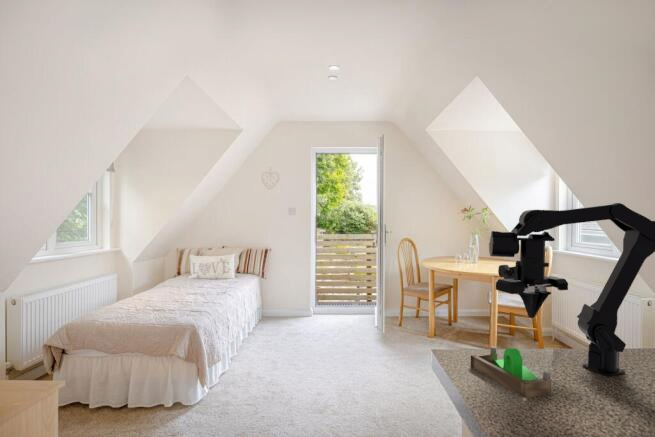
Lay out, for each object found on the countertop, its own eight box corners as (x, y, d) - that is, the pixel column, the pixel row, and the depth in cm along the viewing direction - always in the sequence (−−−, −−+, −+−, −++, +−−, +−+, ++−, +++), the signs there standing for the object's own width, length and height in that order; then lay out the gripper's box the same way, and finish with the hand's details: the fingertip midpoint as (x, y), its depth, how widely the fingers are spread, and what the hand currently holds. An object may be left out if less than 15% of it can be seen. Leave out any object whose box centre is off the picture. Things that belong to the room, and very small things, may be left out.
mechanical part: (540, 389, 87) (541, 354, 87) (512, 388, 87) (513, 353, 87) (517, 368, 99) (518, 336, 99) (493, 367, 99) (494, 336, 99)
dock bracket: (493, 363, 101) (493, 346, 101) (551, 393, 84) (552, 373, 84) (470, 366, 99) (470, 349, 99) (525, 398, 82) (526, 377, 82)
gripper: (534, 253, 111) (533, 307, 112) (481, 255, 105) (480, 312, 106) (570, 258, 101) (568, 317, 101) (512, 260, 95) (511, 323, 95)
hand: (531, 317), depth 101 cm, fingers closed
